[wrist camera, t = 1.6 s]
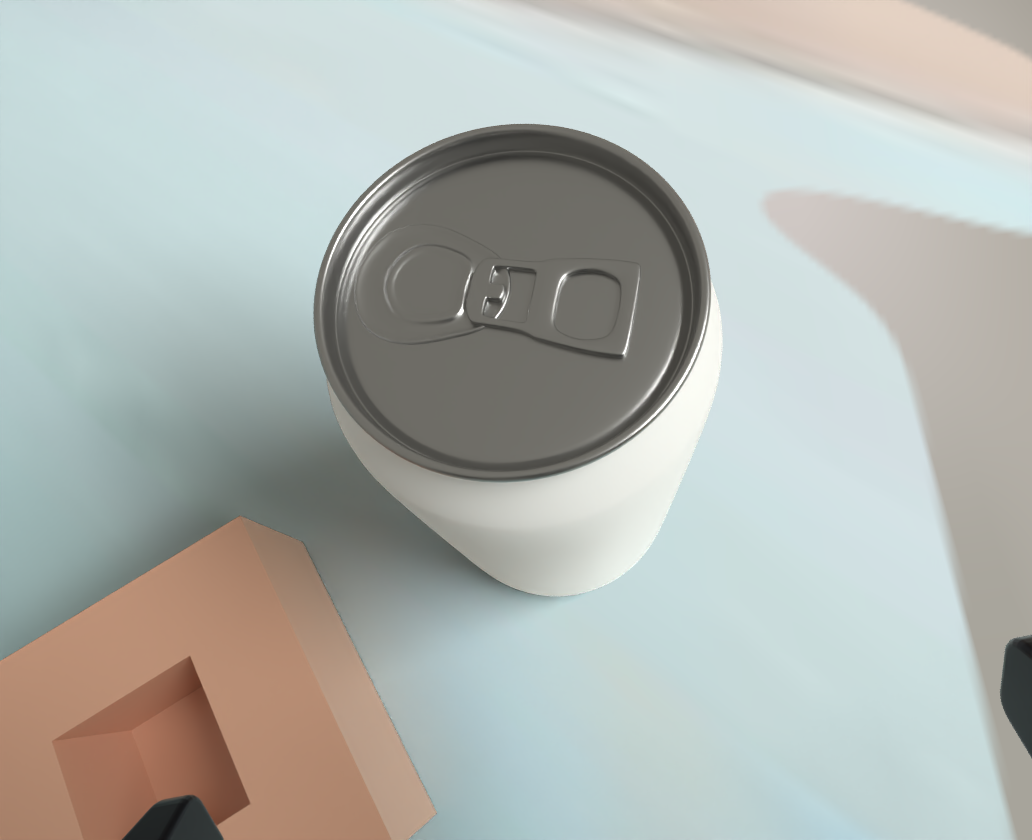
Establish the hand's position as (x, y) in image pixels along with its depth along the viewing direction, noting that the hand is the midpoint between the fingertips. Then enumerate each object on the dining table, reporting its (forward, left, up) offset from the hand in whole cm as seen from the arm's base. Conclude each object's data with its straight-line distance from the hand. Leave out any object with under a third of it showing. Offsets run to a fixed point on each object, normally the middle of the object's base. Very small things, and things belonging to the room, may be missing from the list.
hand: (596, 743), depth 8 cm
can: (+6, -2, -12) cm, 14 cm away
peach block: (+4, +9, -12) cm, 16 cm away
